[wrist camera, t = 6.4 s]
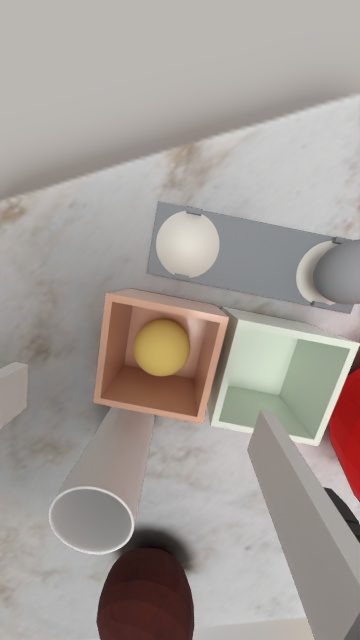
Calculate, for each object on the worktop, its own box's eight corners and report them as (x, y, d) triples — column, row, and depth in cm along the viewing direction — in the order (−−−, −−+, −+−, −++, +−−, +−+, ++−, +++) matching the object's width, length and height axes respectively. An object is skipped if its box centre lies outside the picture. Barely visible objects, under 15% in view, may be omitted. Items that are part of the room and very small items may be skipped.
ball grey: (293, 295, 22) (332, 301, 17) (311, 240, 21) (359, 225, 15) (345, 305, 22) (401, 315, 17) (365, 251, 21) (433, 241, 15)
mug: (107, 392, 26) (44, 483, 15) (157, 395, 26) (134, 490, 14) (109, 454, 28) (54, 579, 17) (155, 458, 28) (133, 586, 16)
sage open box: (203, 382, 26) (210, 425, 18) (221, 306, 23) (238, 319, 16) (280, 397, 26) (318, 446, 18) (305, 323, 24) (360, 343, 16)
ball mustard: (137, 356, 24) (121, 381, 19) (144, 309, 23) (130, 320, 17) (184, 365, 24) (184, 393, 19) (194, 319, 23) (197, 333, 17)
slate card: (147, 273, 23) (145, 273, 22) (158, 202, 21) (157, 199, 20) (347, 313, 23) (354, 314, 22) (373, 246, 22) (381, 244, 21)
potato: (129, 512, 30) (101, 629, 20) (205, 542, 31) (214, 669, 21) (104, 558, 33) (67, 684, 22) (176, 585, 33) (171, 719, 23)
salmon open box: (120, 366, 25) (93, 402, 18) (131, 288, 23) (105, 292, 16) (197, 381, 26) (202, 424, 18) (215, 305, 23) (229, 317, 16)
